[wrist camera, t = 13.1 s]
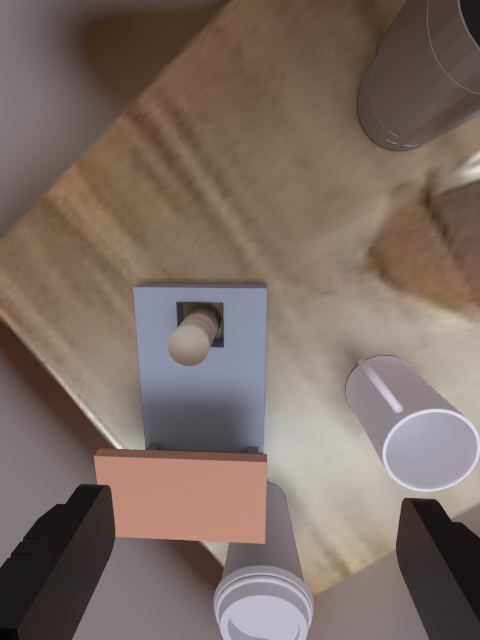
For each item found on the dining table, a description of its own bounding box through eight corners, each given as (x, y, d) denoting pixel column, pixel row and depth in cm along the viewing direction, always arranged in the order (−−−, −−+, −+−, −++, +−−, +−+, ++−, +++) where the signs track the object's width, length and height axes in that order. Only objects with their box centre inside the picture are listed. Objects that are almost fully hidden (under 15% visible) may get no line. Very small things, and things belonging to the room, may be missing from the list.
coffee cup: (212, 488, 45) (190, 610, 31) (276, 459, 43) (285, 573, 29) (248, 540, 47) (243, 679, 32) (310, 514, 45) (335, 647, 31)
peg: (189, 303, 39) (166, 326, 29) (220, 303, 39) (208, 327, 29) (190, 333, 40) (168, 365, 30) (221, 333, 40) (209, 366, 30)
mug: (317, 356, 40) (342, 407, 28) (384, 318, 38) (439, 355, 27) (366, 432, 42) (407, 509, 30) (431, 399, 40) (501, 467, 29)
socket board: (142, 283, 39) (76, 311, 25) (266, 284, 38) (270, 314, 24) (153, 438, 44) (103, 536, 30) (263, 442, 43) (265, 543, 29)
